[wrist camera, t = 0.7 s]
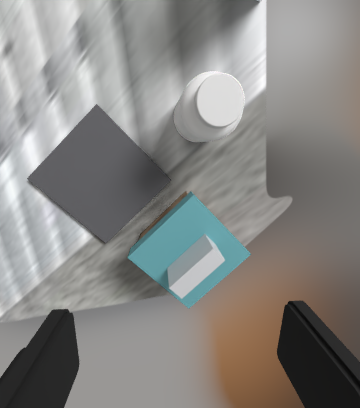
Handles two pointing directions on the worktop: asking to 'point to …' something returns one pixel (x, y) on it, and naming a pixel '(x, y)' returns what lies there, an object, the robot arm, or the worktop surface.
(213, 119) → the pill bottle
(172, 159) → the worktop surface
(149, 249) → the lid
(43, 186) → the mat
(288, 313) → the robot arm
